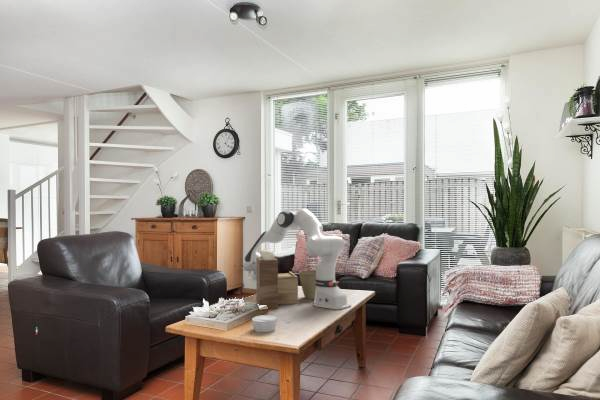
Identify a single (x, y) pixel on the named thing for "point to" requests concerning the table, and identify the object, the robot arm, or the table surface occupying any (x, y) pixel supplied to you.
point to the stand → (275, 285)
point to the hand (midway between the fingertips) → (260, 260)
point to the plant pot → (308, 283)
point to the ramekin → (264, 323)
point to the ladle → (266, 254)
